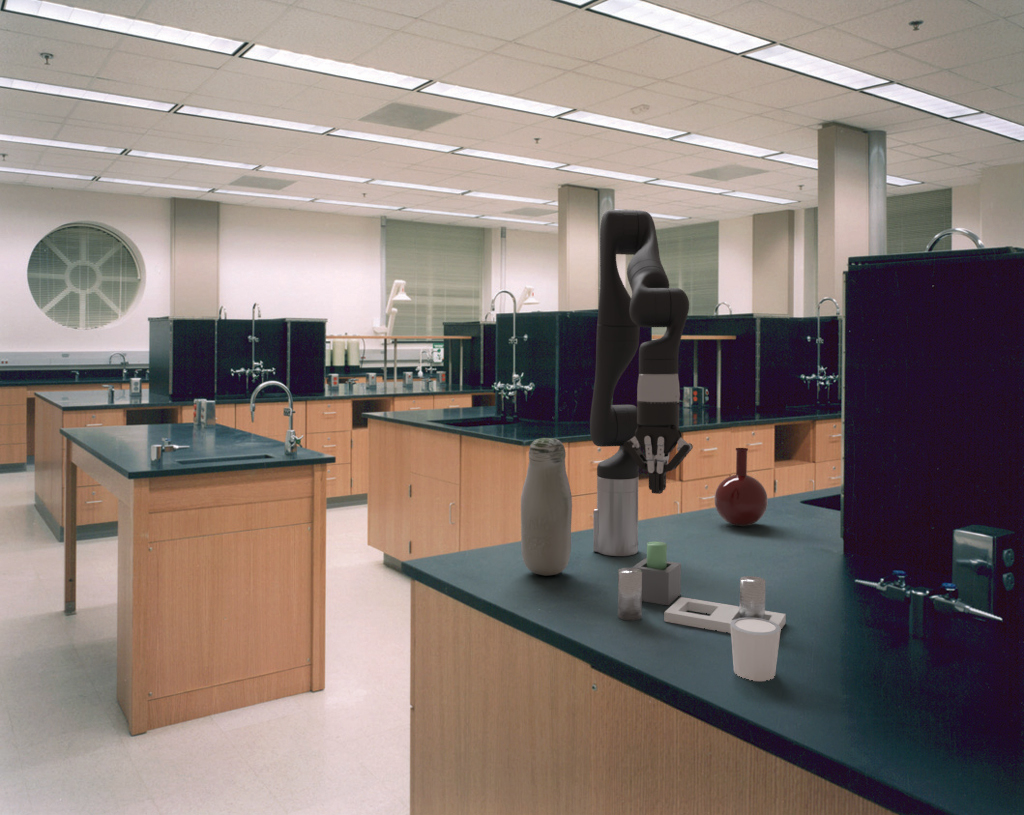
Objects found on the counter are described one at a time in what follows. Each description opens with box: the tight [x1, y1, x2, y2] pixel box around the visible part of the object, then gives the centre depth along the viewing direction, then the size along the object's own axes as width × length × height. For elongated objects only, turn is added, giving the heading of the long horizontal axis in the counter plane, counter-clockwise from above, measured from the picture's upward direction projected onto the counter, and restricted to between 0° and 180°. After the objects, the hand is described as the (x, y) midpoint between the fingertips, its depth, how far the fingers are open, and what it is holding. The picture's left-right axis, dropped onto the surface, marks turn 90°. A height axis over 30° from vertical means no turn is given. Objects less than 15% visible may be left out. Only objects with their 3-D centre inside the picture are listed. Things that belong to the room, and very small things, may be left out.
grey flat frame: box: [663, 596, 787, 634], centre depth 131 cm, size 18×9×2 cm, turn 60°
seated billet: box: [739, 575, 766, 619], centre depth 128 cm, size 4×4×8 cm
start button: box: [646, 541, 668, 570], centre depth 144 cm, size 4×4×6 cm
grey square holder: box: [631, 557, 682, 606], centre depth 144 cm, size 7×7×6 cm
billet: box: [617, 567, 643, 621], centre depth 134 cm, size 4×4×8 cm
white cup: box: [730, 618, 782, 682], centre depth 111 cm, size 7×7×7 cm
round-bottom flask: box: [714, 447, 769, 527], centre depth 200 cm, size 13×13×20 cm
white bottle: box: [520, 437, 573, 577], centre depth 158 cm, size 10×10×28 cm
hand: (657, 492), depth 143 cm, fingers closed
